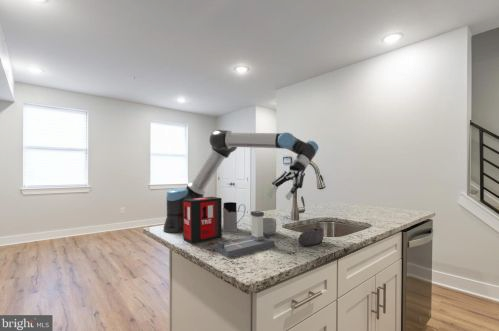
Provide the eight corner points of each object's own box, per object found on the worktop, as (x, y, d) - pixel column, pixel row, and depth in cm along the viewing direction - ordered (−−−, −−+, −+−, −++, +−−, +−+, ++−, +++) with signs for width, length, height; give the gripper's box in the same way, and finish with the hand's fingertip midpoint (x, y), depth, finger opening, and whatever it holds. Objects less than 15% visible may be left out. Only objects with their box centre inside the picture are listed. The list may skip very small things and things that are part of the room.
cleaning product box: (212, 234, 131) (212, 196, 131) (221, 237, 124) (221, 198, 124) (183, 240, 120) (183, 199, 121) (191, 244, 113) (191, 201, 114)
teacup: (273, 237, 123) (273, 221, 123) (253, 236, 127) (253, 220, 127) (279, 231, 136) (279, 216, 137) (260, 229, 140) (260, 215, 140)
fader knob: (250, 238, 113) (250, 211, 113) (257, 236, 115) (257, 210, 115) (257, 240, 109) (257, 213, 109) (264, 239, 111) (264, 212, 111)
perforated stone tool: (302, 249, 106) (302, 232, 106) (294, 245, 110) (294, 230, 110) (327, 243, 113) (327, 228, 113) (319, 240, 118) (318, 226, 118)
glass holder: (220, 228, 143) (220, 202, 143) (242, 225, 150) (242, 201, 150) (225, 231, 135) (225, 204, 135) (248, 228, 142) (248, 202, 142)
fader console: (213, 249, 106) (213, 239, 106) (258, 239, 120) (258, 230, 120) (227, 257, 96) (227, 246, 96) (274, 246, 110) (274, 236, 110)
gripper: (321, 169, 117) (300, 204, 109) (287, 170, 139) (266, 199, 130) (313, 158, 115) (290, 193, 106) (279, 161, 136) (258, 190, 127)
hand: (277, 197), depth 118 cm, fingers open, 13 cm apart
